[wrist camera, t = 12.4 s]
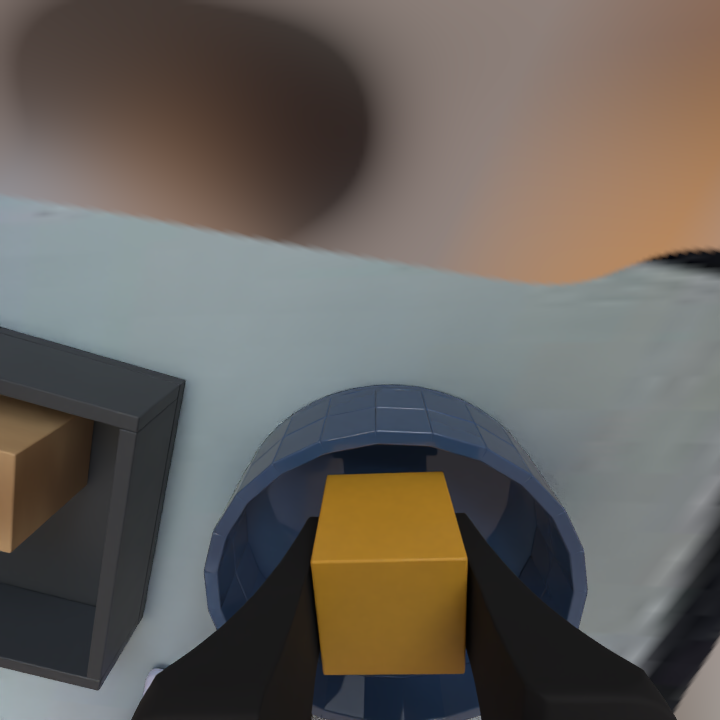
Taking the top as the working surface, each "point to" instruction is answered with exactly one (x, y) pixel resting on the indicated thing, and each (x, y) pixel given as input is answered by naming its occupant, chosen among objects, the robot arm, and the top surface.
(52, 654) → the bin
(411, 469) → the bowl
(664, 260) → the top surface
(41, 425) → the beech block
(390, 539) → the mustard block
